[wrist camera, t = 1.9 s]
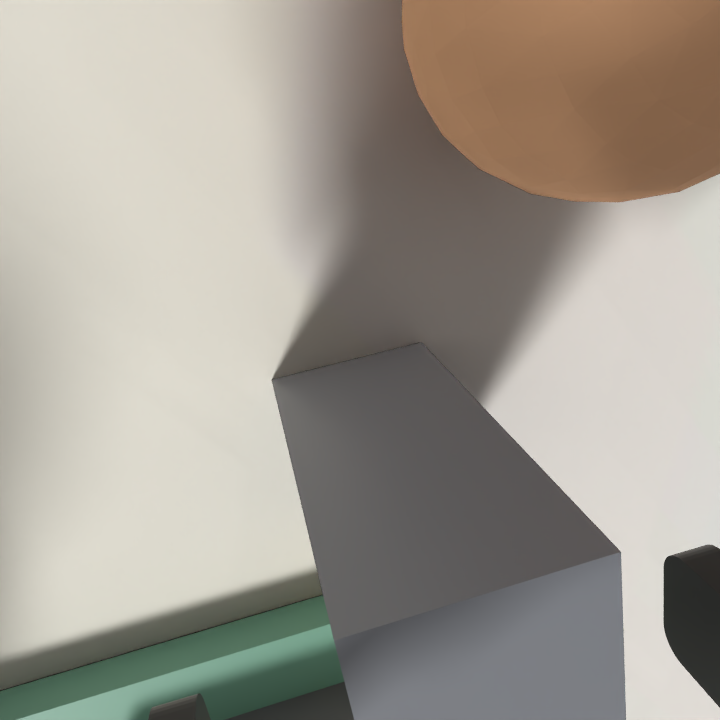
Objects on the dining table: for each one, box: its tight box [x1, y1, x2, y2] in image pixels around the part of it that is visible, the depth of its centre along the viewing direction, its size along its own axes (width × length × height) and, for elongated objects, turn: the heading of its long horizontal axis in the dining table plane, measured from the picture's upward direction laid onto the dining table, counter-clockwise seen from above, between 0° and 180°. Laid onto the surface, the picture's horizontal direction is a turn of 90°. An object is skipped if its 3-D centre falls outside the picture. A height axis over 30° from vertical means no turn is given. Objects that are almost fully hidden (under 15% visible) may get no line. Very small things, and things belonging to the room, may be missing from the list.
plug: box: [272, 342, 626, 720], centre depth 13 cm, size 4×4×9 cm
